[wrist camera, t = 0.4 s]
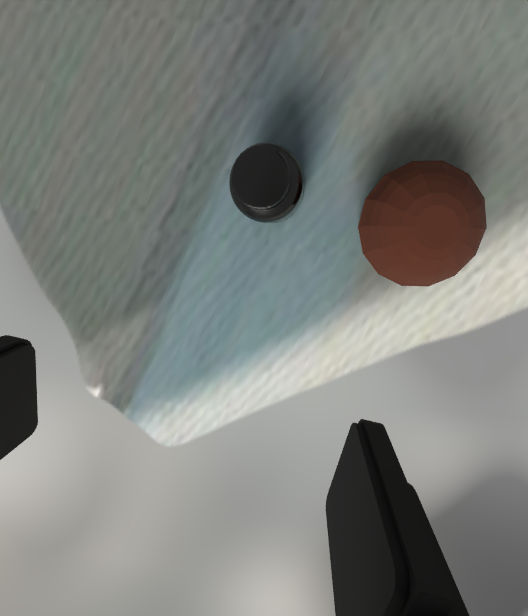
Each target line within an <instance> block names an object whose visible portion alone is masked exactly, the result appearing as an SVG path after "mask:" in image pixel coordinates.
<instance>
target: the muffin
mask: <svg viewBox="0 0 528 616" xmlns="http://www.w3.org/2000/svg"><path fill="white" fill-rule="evenodd" d="M358 228H359V234H360V240H361V245H362V251H363V254H364V255H365V257H366V258H367V259H368V261H369V262H370V263H371V265H372V266H373V267H374V269H375V270H376V271H377V273H378V274H380V275H382V276H384V277H386V278H388V279H389V280H391V281H393V282H395V283H397V284H399V285H401V286H430V285H433V284H435V283H438V282H440V281H443V280H445V279H447V278H450V277H452V276H455V275H456V274H457V273H458V272H459V271H460V270H461V269H462V268H463V267H464V266H465V265H466V264H467V263H468V262H469V261H470V260H471V259H472V258H473V257H474V256H475V255H476V253H477V250H478V248H479V245H480V242H481V240H482V237H483V235H484V232H485V230H486V213H485V200H484V197H483V195H482V194H481V192H480V191H479V189H478V187H477V186H476V184H475V183H474V181H473V180H472V178H471V177H470V175H469V174H468V173H466V172H464V171H462V170H460V169H458V168H456V167H454V166H452V165H450V164H448V163H447V162H445V161H412V162H410V163H408V164H406V165H404V166H402V167H400V168H398V169H396V170H394V171H392V172H390V173H388V174H386V175H385V176H384V177H383V178H382V179H381V180H380V182H379V183H378V184H377V185H376V187H375V188H374V189H373V190H372V192H371V193H370V194H369V195H368V196H367V198H366V199H365V203H364V207H363V210H362V214H361V218H360V222H359V225H358Z"/></svg>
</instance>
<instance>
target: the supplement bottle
mask: <svg viewBox="0 0 528 616" xmlns="http://www.w3.org/2000/svg"><path fill="white" fill-rule="evenodd" d="M229 184H230V192H231V196H232V199H233V201H234V203H235V205H236V206H237V208H238V209H239V210H240V211H241V212H242V213H243V214H244V215H245V216H247V217H248V218H250V219H252V220H255V221H258V222H264V223H277V222H281V221H284V220H286V219H288V218H289V217H291V216H292V215H293V214H294V213H295V212H296V211H297V209H298V208H299V206H300V204H301V201H302V197H303V184H304V181H303V173H302V169H301V167H300V164H299V162H298V160H297V159H296V157H295V156H294V155H293V154H292V153H291V152H290V151H289V150H288V149H286V148H285V147H283V146H281V145H279V144H276V143H269V142H265V143H258V144H255V145H253V146H251V147H249V148H247V149H246V150H245V151H243V152H242V153H241V154H240V155H239V157H238V158H237V159H236V161H235V163H234V165H233V167H232V170H231V174H230V182H229Z"/></svg>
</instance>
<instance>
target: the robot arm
mask: <svg viewBox="0 0 528 616" xmlns="http://www.w3.org/2000/svg"><path fill="white" fill-rule="evenodd" d="M37 423H38V416H37V387H36V360H35V350H34V348H33V347H32V344H31V343H30V341H28V340H25V339H21V338H17V337H13V336H7V335H5V336H1V337H0V460H1V459H2V458H3V457H5V456H6V455H7V454H8V453H10V452H11V451H12V450H13V449H14V448H16V447H17V446H18V445H19V444H21V443H22V442H23V441H24V440H26V439H27V438H28V437H29V436H30V435H32V433H33V432H34V431H35V429H36V427H37ZM326 517H327V527H328V537H329V549H330V560H331V570H332V580H333V590H334V591H333V592H334V602H335V613H336V616H469V614H468V612H467V609H466V607H465V604H464V602H463V600H462V598H461V595H460V593H459V590H458V588H457V586H456V584H455V581H454V579H453V577H452V574H451V572H450V570H449V567H448V565H447V563H446V560H445V558H444V556H443V553H442V551H441V549H440V546H439V544H438V542H437V539H436V537H435V535H434V533H433V530H432V528H431V525H430V523H429V521H428V519H427V516H426V514H425V511H424V509H423V507H422V504H421V502H420V500H419V498H418V495H417V493H416V491H415V489H414V488H413V486H412V485H410V484H409V483H407V480H406V478H405V475H404V473H403V471H402V468H401V466H400V463H399V461H398V458H397V456H396V454H395V451H394V449H393V446H392V444H391V442H390V439H389V437H388V435H387V432H386V429H385V427H384V426H383V424H381V423H376V422H372V421H367V420H364V419H361V420H360V421H359V423H358V424H357V423H353V424H352V425H351V427H350V430H349V433H348V436H347V439H346V442H345V445H344V448H343V451H342V454H341V457H340V460H339V462H338V465H337V468H336V471H335V474H334V478H333V480H332V483H331V486H330V489H329V492H328V495H327V500H326Z"/></svg>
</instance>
